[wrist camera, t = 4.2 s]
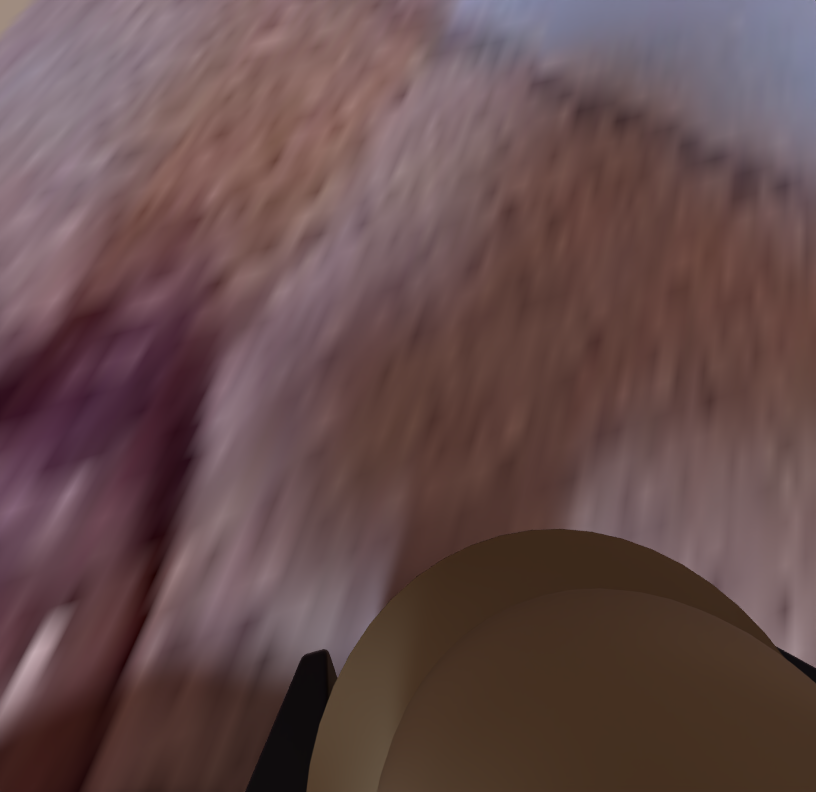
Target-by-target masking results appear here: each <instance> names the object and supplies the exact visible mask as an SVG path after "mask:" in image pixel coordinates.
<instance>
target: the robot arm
mask: <svg viewBox="0 0 816 792" xmlns="http://www.w3.org/2000/svg"><path fill="white" fill-rule="evenodd" d="M776 648H777V649H778V650H779V651H780V653H781V654H782V655H783V657H784V658H785V659H787V660H788V661H789V662H791V663H792V664H793V665H794V666H796V667H797V668H798V669H799V670H800V671H802V672H803V673H804V674H805V675H806V676H808V677H809V678H810V679H811V680H812V681H814V682H815V683H816V668H815V667H813V666H811V665H809V664H807V663H806V662H804V661H802V660H800V659H798V658H796V657H795V656H793V655H791V654H789V653H787V652H785V651H784V650H782V649H780V648H778V647H776ZM336 681H337V676H336V673H335V669H334V666H333V663H332V660H331V657H330V654H329V652H328V651H327V650H325V649H322V650H319V651H315V652H312V653H308V654H305V655H304V656H303V657H302V658H301V660H300V663H299V665H298V667H297V670H296V672H295V675H294V677H293V679H292V682H291V684H290V686H289V689H288V691H287V694H286V696H285V698H284V701H283V703H282V705H281V708H280V710H279V713H278V715H277V717H276V720H275V722H274V724H273V727H272V729H271V732H270V734H269V736H268V739H267V741H266V743H265V746H264V748H263V751H262V753H261V755H260V758H259V760H258V762H257V765H256V767H255V770H254V772H253V774H252V777H251V779H250V781H249V784H248V786H247V788H246V791H245V792H306V791H307V783H308V776H309V768H310V762H311V758H312V754H313V749H314V745H315V741H316V737H317V733H318V729H319V725H320V722H321V719H322V716H323V713H324V711H325V708H326V705H327V703H328V700H329V697H330V694H331V692H332V689H333V687H334V685H335V683H336Z"/></svg>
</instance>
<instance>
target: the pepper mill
mask: <svg viewBox="0 0 816 792" xmlns="http://www.w3.org/2000/svg"><path fill="white" fill-rule="evenodd" d="M306 792H816V683H815V682H814V681H812V680H811V679H810V678H809V677H808V676H806V675H805V674H804V673H803V672H802V671H800V670H799V669H798V668H797V667H796V666H794V665H793V664H792V663H791V662H789V661H788V660H787V659H785V658H784V657H783V655H782V654H781V653H780V651H779V650H778V649H777V648H776V646H775V645H774V644H773V643H772V641H771V640H770V639H769V638H768V636H767V635H766V634H765V633H764V632H763V631H762V630H761V629H760V628H759V626H758V625H757V624H756V623H755V622H754V621H753V620H752V619H751V618H750V617H749V616H748V615H747V614H746V613H745V612H744V611H743V610H742V609H741V608H740V607H739V606H738V605H737V604H735V603H734V602H733V601H732V600H731V599H729V598H728V597H727V596H726V595H725V594H723V593H722V592H721V591H720V590H718V589H717V588H716V587H715V586H714V585H712V584H711V583H710V582H708V581H707V580H705V579H704V578H702V577H701V576H699V575H697V574H696V573H694V572H693V571H691V570H690V569H688V568H687V567H685V566H684V565H682V564H680V563H678V562H676V561H674V560H672V559H670V558H668V557H666V556H664V555H662V554H660V553H658V552H656V551H654V550H652V549H649V548H647V547H644V546H641V545H638V544H635V543H633V542H630V541H627V540H624V539H621V538H617V537H612V536H608V535H603V534H599V533H594V532H588V531H576V530H565V529H551V530H529V531H524V532H518V533H513V534H508V535H502V536H498V537H495V538H492V539H489V540H486V541H483V542H480V543H477V544H474V545H471V546H469V547H467V548H465V549H463V550H461V551H459V552H457V553H455V554H453V555H450V556H448V557H446V558H444V559H443V560H441V561H440V562H438V563H437V564H435V565H434V566H432V567H431V568H429V569H428V570H426V571H425V572H423V573H422V574H420V575H419V576H417V577H416V578H415V579H414V580H413V581H411V582H410V583H409V584H408V585H407V586H406V587H405V588H404V589H402V590H401V591H400V592H399V593H398V594H397V595H396V596H395V597H393V598H392V599H391V601H390V602H389V603H388V604H387V605H386V606H385V607H384V609H383V610H382V611H381V612H380V613H379V614H378V616H377V617H376V618H375V619H374V620H373V621H372V622H371V624H370V625H369V626H368V628H367V629H366V631H365V632H364V634H363V635H362V637H361V638H360V640H359V641H358V643H357V644H356V646H355V647H354V649H353V650H352V652H351V653H350V655H349V657H348V659H347V661H346V663H345V665H344V667H343V669H342V671H341V673H340V675H339V677H338V679H337V681H336V683H335V685H334V687H333V689H332V692H331V694H330V697H329V700H328V703H327V705H326V708H325V711H324V713H323V716H322V719H321V722H320V725H319V729H318V733H317V737H316V741H315V745H314V749H313V754H312V758H311V762H310V768H309V776H308V783H307V791H306Z"/></svg>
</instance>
